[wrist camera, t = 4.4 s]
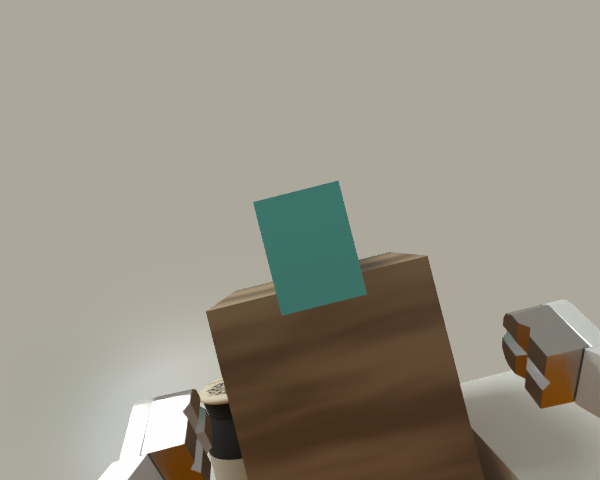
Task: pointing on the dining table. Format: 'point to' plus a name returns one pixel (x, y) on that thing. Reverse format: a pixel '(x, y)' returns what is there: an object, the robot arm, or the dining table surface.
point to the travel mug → (223, 434)
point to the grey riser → (529, 433)
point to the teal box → (310, 248)
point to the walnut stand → (347, 382)
